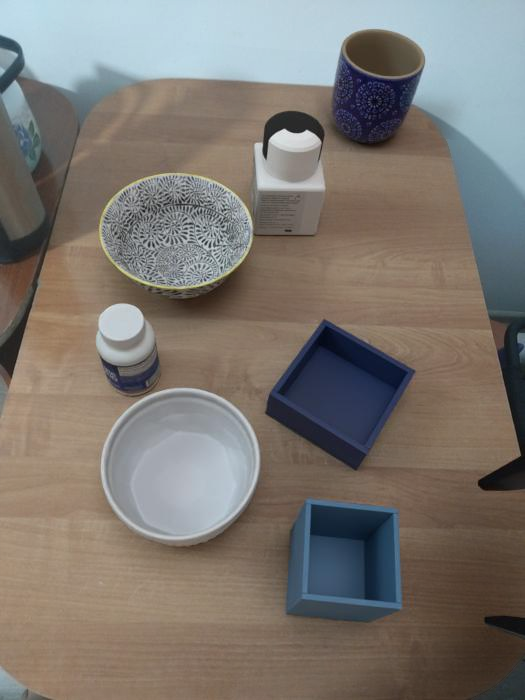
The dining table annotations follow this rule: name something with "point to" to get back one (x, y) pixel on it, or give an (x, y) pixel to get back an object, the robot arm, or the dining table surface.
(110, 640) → the dining table surface
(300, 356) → the navy bin
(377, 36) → the planter
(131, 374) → the pill bottle
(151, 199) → the bowl
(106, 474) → the ramekin
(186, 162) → the dining table surface
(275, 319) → the dining table surface
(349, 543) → the blue bin
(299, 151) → the container
